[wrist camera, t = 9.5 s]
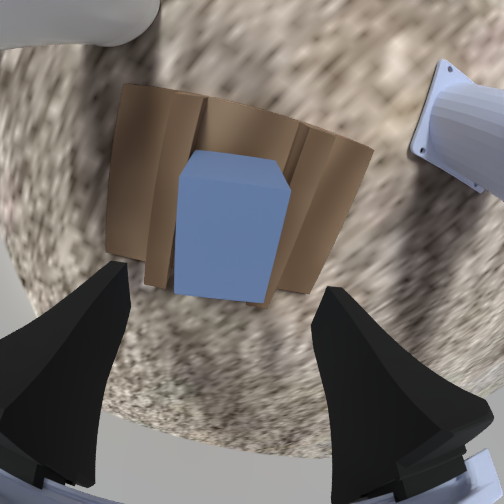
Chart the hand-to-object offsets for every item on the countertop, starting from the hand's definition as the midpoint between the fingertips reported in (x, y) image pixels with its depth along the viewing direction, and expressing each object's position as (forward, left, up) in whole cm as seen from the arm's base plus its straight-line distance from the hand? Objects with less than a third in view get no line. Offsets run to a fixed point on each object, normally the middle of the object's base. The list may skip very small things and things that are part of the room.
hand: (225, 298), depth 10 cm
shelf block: (0, 0, -8) cm, 8 cm away
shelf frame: (0, 0, -10) cm, 10 cm away
